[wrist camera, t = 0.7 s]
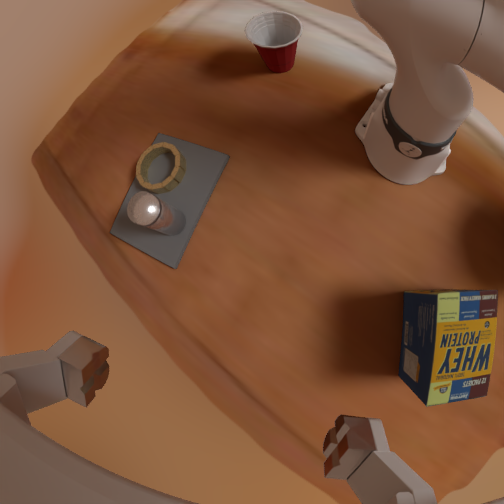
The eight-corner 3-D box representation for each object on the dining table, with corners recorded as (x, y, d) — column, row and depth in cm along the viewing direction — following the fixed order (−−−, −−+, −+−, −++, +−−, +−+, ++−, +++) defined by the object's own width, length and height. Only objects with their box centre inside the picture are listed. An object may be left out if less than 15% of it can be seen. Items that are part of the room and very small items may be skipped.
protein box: (453, 288, 45) (499, 288, 30) (447, 371, 44) (487, 397, 29) (402, 290, 47) (437, 291, 32) (396, 377, 46) (425, 408, 31)
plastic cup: (267, 89, 56) (257, 52, 44) (248, 58, 58) (236, 21, 46) (315, 72, 54) (313, 34, 43) (292, 42, 56) (287, 5, 45)
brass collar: (157, 143, 58) (150, 137, 55) (194, 156, 56) (188, 149, 53) (136, 184, 58) (128, 180, 55) (172, 200, 56) (165, 196, 53)
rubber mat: (160, 134, 59) (158, 132, 58) (229, 157, 56) (228, 155, 55) (112, 233, 59) (109, 232, 58) (176, 268, 55) (174, 268, 54)
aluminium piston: (168, 204, 56) (135, 186, 44) (191, 214, 55) (160, 197, 43) (157, 229, 56) (121, 216, 44) (179, 240, 55) (146, 229, 43)
